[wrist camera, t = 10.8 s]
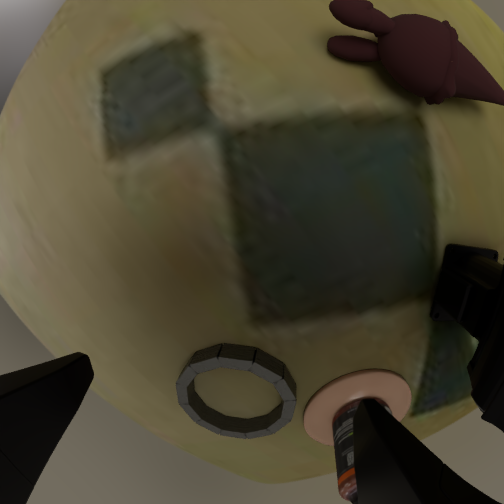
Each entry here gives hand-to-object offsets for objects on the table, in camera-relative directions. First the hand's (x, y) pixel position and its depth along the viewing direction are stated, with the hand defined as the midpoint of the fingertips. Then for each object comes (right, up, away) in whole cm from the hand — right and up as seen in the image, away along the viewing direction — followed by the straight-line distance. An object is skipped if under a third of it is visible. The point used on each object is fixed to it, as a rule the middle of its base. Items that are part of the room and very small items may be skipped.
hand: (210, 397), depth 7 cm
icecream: (+14, +18, +7) cm, 24 cm away
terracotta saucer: (+12, -11, +15) cm, 22 cm away
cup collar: (0, -8, +16) cm, 18 cm away
